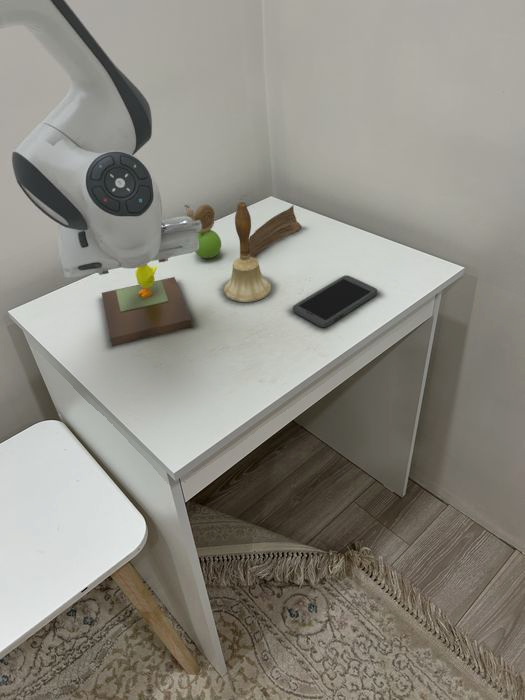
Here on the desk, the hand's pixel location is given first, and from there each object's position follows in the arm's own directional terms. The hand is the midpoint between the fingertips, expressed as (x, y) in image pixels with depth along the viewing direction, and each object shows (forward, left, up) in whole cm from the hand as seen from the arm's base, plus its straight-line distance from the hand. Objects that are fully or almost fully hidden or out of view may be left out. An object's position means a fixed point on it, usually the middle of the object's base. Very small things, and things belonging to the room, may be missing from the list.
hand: (133, 263), depth 87 cm
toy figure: (+1, +2, -8) cm, 8 cm away
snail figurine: (+14, +13, -9) cm, 22 cm away
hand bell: (+18, -1, -9) cm, 21 cm away
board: (0, -1, -9) cm, 9 cm away
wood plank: (+28, +13, -9) cm, 33 cm away
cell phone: (+31, -11, -9) cm, 34 cm away
